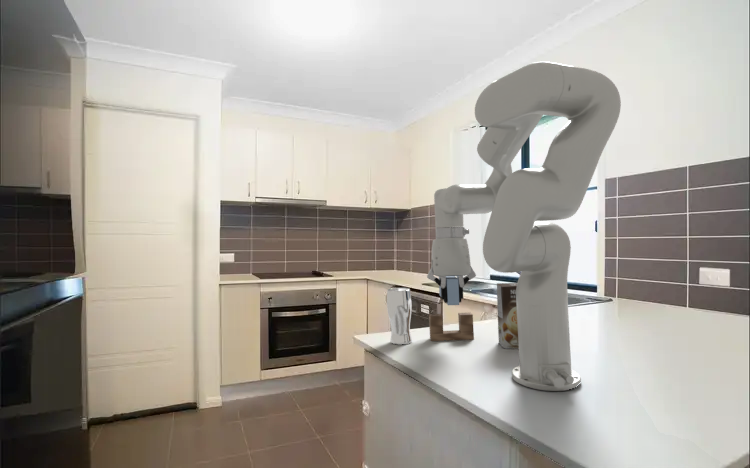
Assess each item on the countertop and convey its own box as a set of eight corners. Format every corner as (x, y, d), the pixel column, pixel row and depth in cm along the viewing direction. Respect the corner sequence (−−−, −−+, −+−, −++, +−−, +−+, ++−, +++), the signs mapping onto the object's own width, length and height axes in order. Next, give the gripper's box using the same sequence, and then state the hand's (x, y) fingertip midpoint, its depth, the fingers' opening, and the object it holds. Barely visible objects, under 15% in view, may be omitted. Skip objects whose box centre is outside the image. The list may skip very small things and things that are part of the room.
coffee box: (503, 349, 99) (500, 286, 99) (498, 342, 105) (495, 283, 105) (541, 348, 98) (537, 285, 98) (533, 341, 104) (530, 281, 105)
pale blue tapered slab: (459, 304, 104) (458, 278, 104) (448, 305, 104) (447, 279, 104) (449, 294, 120) (448, 272, 120) (439, 295, 120) (438, 272, 120)
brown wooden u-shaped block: (471, 336, 112) (470, 312, 113) (474, 339, 109) (472, 314, 110) (430, 338, 113) (428, 314, 113) (431, 341, 110) (430, 316, 110)
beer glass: (414, 344, 107) (411, 290, 107) (389, 346, 107) (386, 291, 107) (412, 338, 114) (409, 287, 114) (388, 339, 114) (386, 288, 114)
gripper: (476, 232, 109) (479, 298, 109) (418, 235, 109) (420, 300, 110) (483, 233, 101) (486, 303, 102) (420, 235, 102) (423, 305, 102)
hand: (452, 301), depth 106 cm, fingers closed on pale blue tapered slab, 3 cm apart
